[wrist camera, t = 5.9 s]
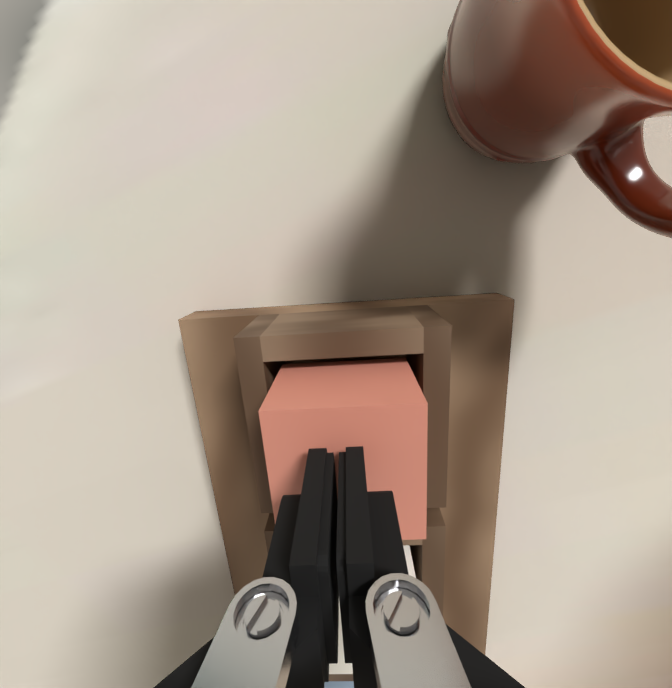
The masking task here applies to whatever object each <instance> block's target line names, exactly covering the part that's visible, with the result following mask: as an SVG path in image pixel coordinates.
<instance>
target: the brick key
mask: <svg viewBox="0 0 672 688" xmlns="http://www.w3.org/2000/svg"><path fill="white" fill-rule="evenodd" d="M258 412H259V419H260V426H261V433H262V439H263V446H264V453H265V459H266V466H267V473H268V480H269V486H270V493H271V500H272V507H273V513H274V520H275V523H276V519H277V515H278V511H279V506H280V502H281V499H282V496H283V495H295V494H301V491H302V485H303V479H304V473H305V467H306V461H307V455H308V450H309V449H313V448H327V453H332V452H333V453H334V462H335V474H336V486H337V499H338V469H339V452H346V447H356V446H363V450H364V461H365V472H366V483H367V492H369V491H392V492H393V496H394V501H395V506H396V511H397V516H398V521H399V527H400V532H401V537H402V540H416V539H426V525H427V428H428V403H427V401H426V399H425V397H424V395H423V393H422V391H421V388H420V386H419V384H418V382H417V380H416V378H415V376H414V374H413V372H412V370H411V368H410V366H409V364H408V362H407V360H406V358H393V359H375V360H356V361H337V362H318V363H299V364H282V366H281V368H280V370H279V372H278V374H277V376H276V378H275V380H274V382H273V384H272V386H271V388H270V390H269V392H268V394H267V395H266V397H265V399H264V401H263V403H262V405H261V407H260V409H259V411H258Z"/></svg>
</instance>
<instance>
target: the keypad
mask: <svg viewBox="0 0 672 688" xmlns="http://www.w3.org/2000/svg"><path fill="white" fill-rule="evenodd" d="M513 311H514V299H512V298H509V297H506V296H504V295H501V294H498V293H488V294H472V295H456V296H439V297H423V298H407V299H391V300H375V301H358V302H342V303H326V304H310V305H294V306H277V307H261V308H245V309H229V310H212V311H196V312H194V313H192V314H189V315H187V316H185V317H183V318H181V319H179V320H178V321H179V326H180V330H181V335H182V340H183V345H184V350H185V355H186V360H187V364H188V369H189V374H190V379H191V384H192V389H193V394H194V398H195V403H196V408H197V413H198V418H199V423H200V428H201V433H202V437H203V442H204V447H205V452H206V457H207V462H208V467H209V471H210V476H211V481H212V486H213V491H214V496H215V501H216V505H217V510H218V515H219V520H220V525H221V530H222V535H223V540H224V544H225V549H226V554H227V559H228V564H229V569H230V574H231V578H232V583H233V588H234V593H235V595H236V594H237V593H238V592H239V591H240V590H241V589H242V588H243V587H244V586H246V585H247V584H249V583H250V582H252V581H254V580H257V579H260V578H262V577H263V572H264V568H265V564H266V560H267V556H268V552H269V548H270V544H271V539H272V535H273V531H274V527H275V520H274V513H273V507H272V500H271V493H270V486H269V480H268V473H267V466H266V459H265V453H264V446H263V439H262V433H261V426H260V419H259V412H258V411H259V409H260V407H261V405H262V403H263V401H264V399H265V397H266V395H267V394H268V392H269V390H270V388H271V386H272V384H273V382H274V380H275V378H276V376H277V374H278V372H279V370H280V368H281V366H282V364H299V363H318V362H337V361H356V360H375V359H393V358H406V360H407V362H408V364H409V366H410V368H411V370H412V372H413V374H414V376H415V378H416V380H417V382H418V384H419V386H420V388H421V391H422V393H423V395H424V397H425V399H426V401H427V403H428V428H427V525H426V539H416V540H402V542H403V545H409V546H410V551H411V556H412V561H413V566H414V571H415V576H416V579H418V580H420V581H422V582H423V583H424V584H425V585H426V586H427V587H428V588H429V589H430V591H431V593H432V594H433V596H434V598H435V600H436V602H437V604H438V607H439V609H440V612H441V614H442V617H443V619H444V622H445V624H447V625H448V626H449V627H450V628H452V629H453V630H454V631H455V632H457V633H458V634H459V635H460V636H462V637H463V638H464V639H465V640H467V641H468V642H469V643H470V644H472V645H473V646H474V647H475V648H476V649H478V650H479V651H480V652H481V653H483V654H484V655H485V649H486V637H487V625H488V613H489V601H490V589H491V577H492V565H493V552H494V540H495V528H496V516H497V504H498V492H499V480H500V468H501V456H502V444H503V432H504V420H505V408H506V396H507V384H508V372H509V360H510V348H511V335H512V323H513ZM329 681H353V674H329Z"/></svg>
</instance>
